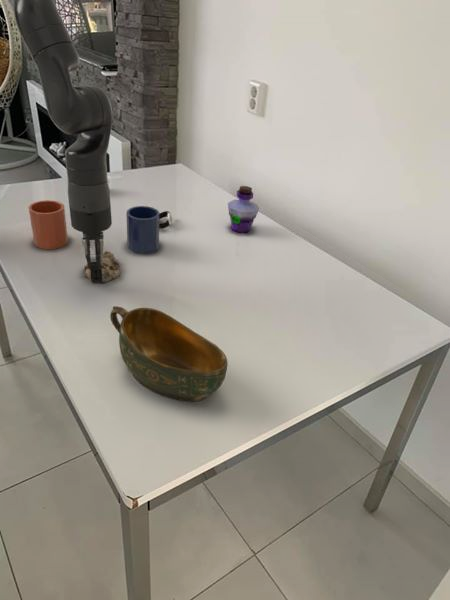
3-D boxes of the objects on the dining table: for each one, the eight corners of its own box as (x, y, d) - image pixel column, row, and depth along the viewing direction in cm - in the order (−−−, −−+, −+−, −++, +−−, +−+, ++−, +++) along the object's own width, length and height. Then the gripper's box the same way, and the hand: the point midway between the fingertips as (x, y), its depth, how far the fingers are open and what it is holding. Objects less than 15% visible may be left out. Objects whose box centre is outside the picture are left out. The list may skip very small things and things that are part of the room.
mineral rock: (116, 277, 95) (79, 263, 94) (111, 293, 97) (75, 279, 96) (130, 254, 104) (96, 241, 103) (125, 269, 106) (92, 257, 105)
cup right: (126, 253, 108) (125, 218, 103) (129, 238, 114) (128, 205, 109) (158, 254, 109) (158, 220, 104) (159, 239, 115) (160, 207, 110)
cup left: (30, 248, 105) (24, 212, 100) (38, 233, 112) (33, 199, 107) (64, 250, 106) (59, 214, 101) (70, 235, 113) (66, 201, 107)
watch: (170, 231, 119) (170, 219, 117) (152, 229, 119) (152, 217, 117) (173, 219, 126) (174, 207, 124) (156, 217, 126) (157, 205, 124)
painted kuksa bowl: (172, 331, 86) (174, 286, 80) (230, 401, 73) (238, 354, 67) (107, 351, 79) (104, 305, 74) (158, 433, 66) (159, 384, 60)
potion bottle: (222, 232, 122) (226, 190, 115) (227, 219, 129) (232, 179, 122) (253, 238, 121) (260, 195, 114) (257, 224, 128) (263, 184, 121)
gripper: (70, 189, 89) (79, 266, 99) (66, 217, 79) (76, 299, 88) (110, 189, 91) (114, 264, 101) (110, 216, 80) (116, 297, 90)
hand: (97, 280), depth 94 cm, fingers closed
